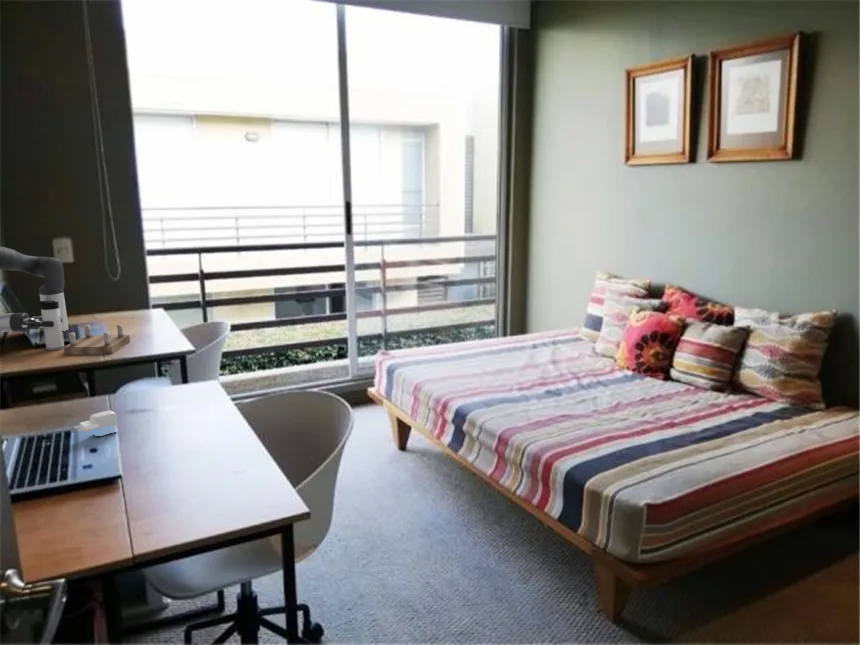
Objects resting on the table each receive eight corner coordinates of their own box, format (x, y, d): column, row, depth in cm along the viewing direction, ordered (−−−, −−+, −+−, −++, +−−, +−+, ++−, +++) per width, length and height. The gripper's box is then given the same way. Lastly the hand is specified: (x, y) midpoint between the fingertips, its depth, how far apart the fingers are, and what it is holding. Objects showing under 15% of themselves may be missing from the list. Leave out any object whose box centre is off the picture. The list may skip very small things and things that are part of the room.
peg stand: (64, 354, 242) (62, 334, 241) (85, 342, 260) (83, 324, 258) (112, 353, 244) (110, 334, 242) (130, 342, 261) (128, 323, 259)
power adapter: (75, 445, 161) (72, 424, 160) (69, 440, 164) (66, 419, 163) (120, 433, 169) (117, 412, 167) (113, 428, 172) (110, 408, 171)
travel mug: (42, 349, 249) (35, 300, 244) (58, 345, 255) (52, 297, 250) (51, 351, 246) (45, 302, 242) (67, 347, 252) (61, 299, 247)
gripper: (2, 317, 239) (47, 316, 241) (22, 309, 253) (65, 309, 254) (4, 336, 241) (49, 335, 242) (25, 327, 255) (67, 326, 256)
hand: (57, 322), depth 248 cm, fingers closed on travel mug, 6 cm apart
